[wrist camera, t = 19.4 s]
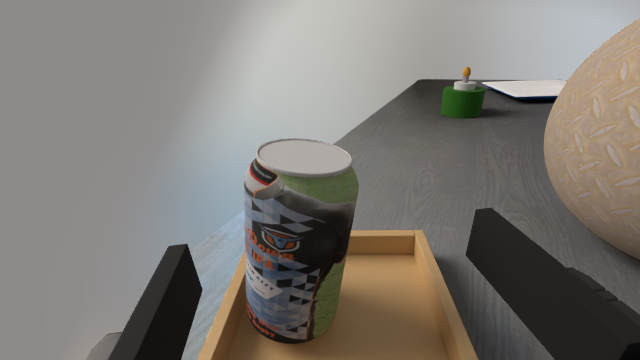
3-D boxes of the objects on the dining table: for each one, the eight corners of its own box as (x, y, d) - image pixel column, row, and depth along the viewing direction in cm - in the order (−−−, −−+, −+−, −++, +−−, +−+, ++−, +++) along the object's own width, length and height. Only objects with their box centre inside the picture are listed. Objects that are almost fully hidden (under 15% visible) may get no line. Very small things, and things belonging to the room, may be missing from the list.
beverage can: (247, 290, 22) (212, 139, 16) (339, 267, 23) (334, 123, 18) (253, 373, 16) (204, 188, 11) (372, 336, 18) (380, 159, 13)
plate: (616, 101, 67) (619, 92, 66) (513, 104, 70) (515, 95, 70) (558, 86, 87) (560, 79, 86) (479, 88, 90) (481, 82, 89)
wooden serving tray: (188, 440, 14) (173, 413, 13) (257, 254, 26) (252, 231, 25) (494, 455, 13) (508, 426, 12) (419, 253, 25) (422, 229, 24)
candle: (447, 107, 71) (453, 64, 66) (484, 111, 66) (493, 64, 62) (435, 115, 65) (441, 68, 61) (475, 119, 60) (484, 69, 56)
